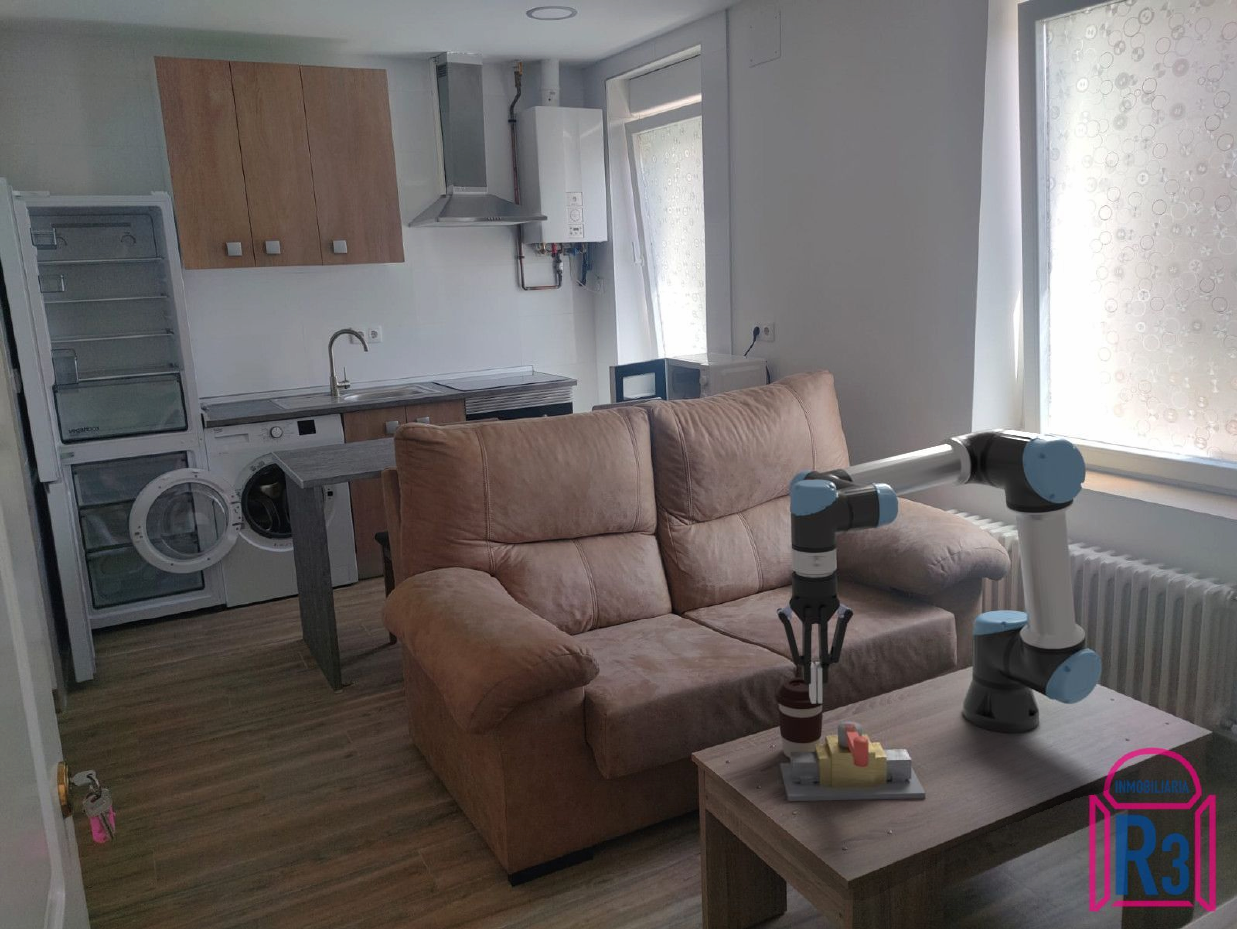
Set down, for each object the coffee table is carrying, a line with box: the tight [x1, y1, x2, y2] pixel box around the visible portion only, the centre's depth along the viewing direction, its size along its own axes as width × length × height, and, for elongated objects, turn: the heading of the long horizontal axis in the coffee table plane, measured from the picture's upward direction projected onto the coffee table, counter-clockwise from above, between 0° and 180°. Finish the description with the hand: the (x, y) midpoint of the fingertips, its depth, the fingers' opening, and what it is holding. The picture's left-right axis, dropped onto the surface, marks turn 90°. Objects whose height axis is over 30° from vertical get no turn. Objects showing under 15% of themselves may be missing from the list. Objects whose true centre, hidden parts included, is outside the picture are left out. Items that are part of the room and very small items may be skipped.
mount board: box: [779, 762, 926, 802], centre depth 176 cm, size 25×12×1 cm, turn 87°
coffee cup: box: [774, 677, 826, 759], centre depth 187 cm, size 10×10×15 cm
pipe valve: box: [789, 733, 912, 788], centre depth 176 cm, size 22×7×7 cm, turn 87°
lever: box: [837, 720, 869, 767], centre depth 170 cm, size 14×4×6 cm, turn 177°
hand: (815, 699), depth 162 cm, fingers closed
